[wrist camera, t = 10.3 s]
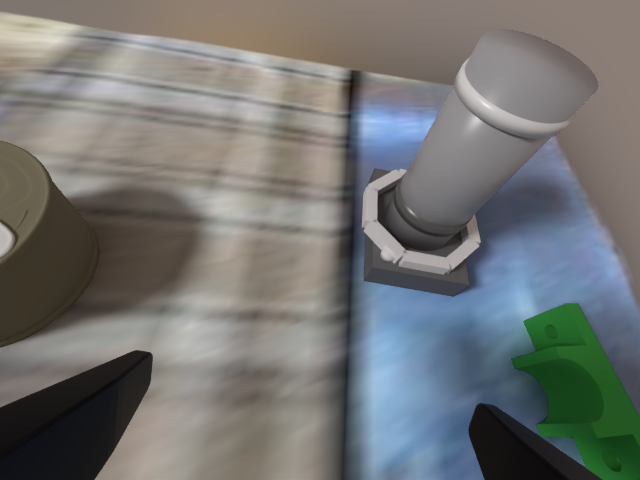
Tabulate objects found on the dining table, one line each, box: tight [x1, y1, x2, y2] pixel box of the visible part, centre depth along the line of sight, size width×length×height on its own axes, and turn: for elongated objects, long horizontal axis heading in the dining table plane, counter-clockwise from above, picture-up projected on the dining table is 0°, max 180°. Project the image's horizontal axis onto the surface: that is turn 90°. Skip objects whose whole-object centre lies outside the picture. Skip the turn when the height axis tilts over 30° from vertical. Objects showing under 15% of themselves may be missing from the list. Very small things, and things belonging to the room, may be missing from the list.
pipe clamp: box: [511, 303, 640, 480], centre depth 21 cm, size 11×4×5 cm, turn 4°
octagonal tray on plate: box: [362, 168, 481, 296], centre depth 27 cm, size 11×10×4 cm
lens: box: [385, 29, 598, 251], centre depth 21 cm, size 6×6×14 cm
